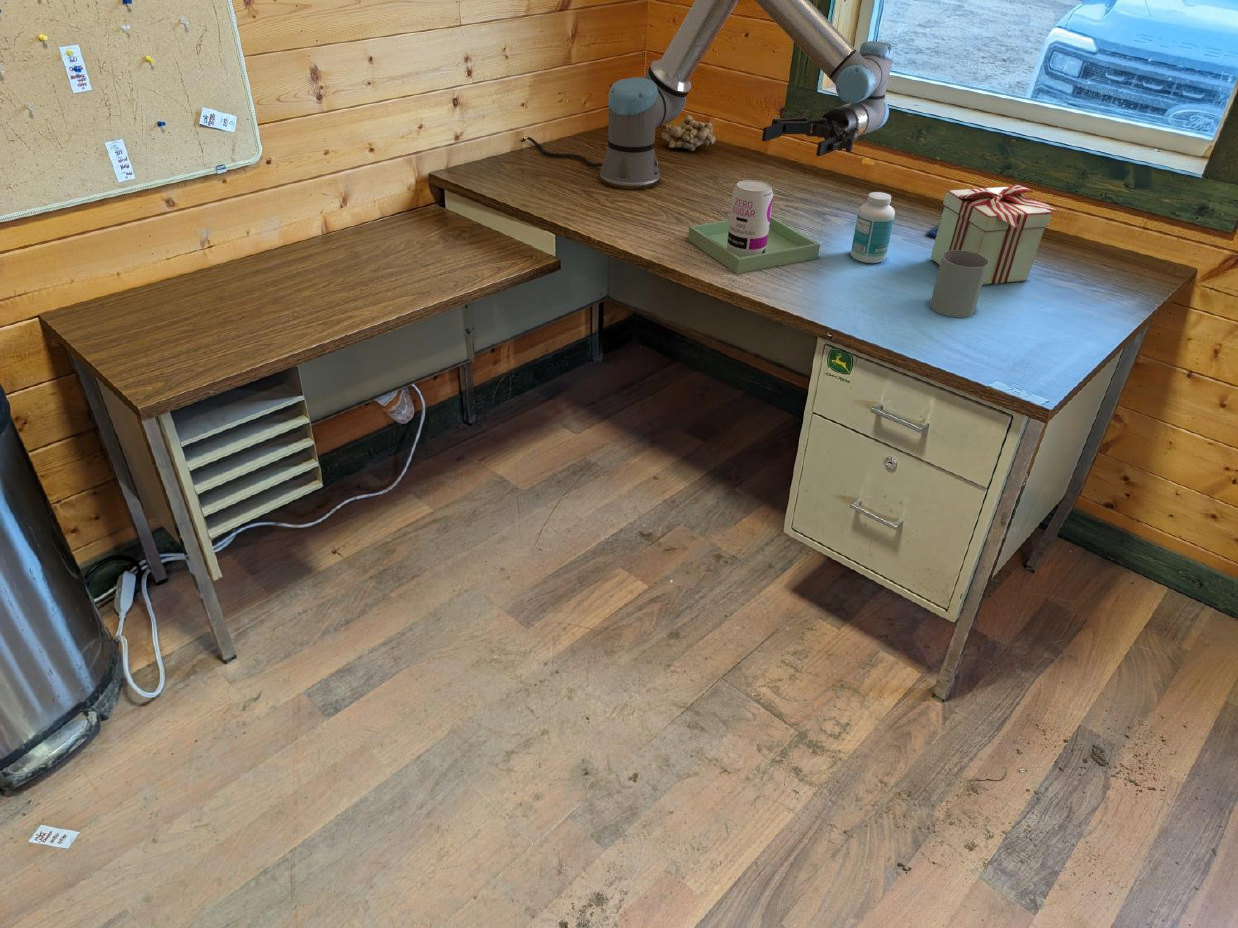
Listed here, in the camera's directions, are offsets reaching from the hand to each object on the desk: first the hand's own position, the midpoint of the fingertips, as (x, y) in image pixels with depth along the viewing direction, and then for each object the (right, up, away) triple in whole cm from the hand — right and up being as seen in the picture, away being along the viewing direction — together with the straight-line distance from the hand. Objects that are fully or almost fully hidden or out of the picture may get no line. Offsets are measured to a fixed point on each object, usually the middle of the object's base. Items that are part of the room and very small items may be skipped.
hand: (790, 142), depth 186 cm
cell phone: (+41, -14, +18) cm, 47 cm away
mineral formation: (-16, +21, +64) cm, 69 cm away
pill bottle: (+17, -24, +4) cm, 29 cm away
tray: (-7, -21, +6) cm, 23 cm away
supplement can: (-9, -24, +1) cm, 26 cm away
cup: (+28, -38, -15) cm, 49 cm away
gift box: (+41, -28, -1) cm, 49 cm away
